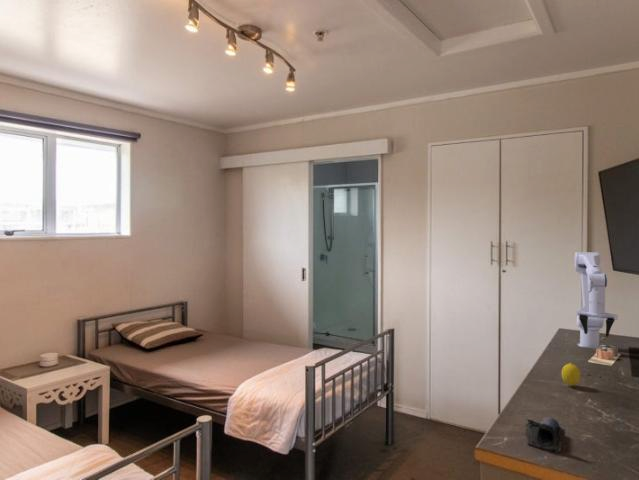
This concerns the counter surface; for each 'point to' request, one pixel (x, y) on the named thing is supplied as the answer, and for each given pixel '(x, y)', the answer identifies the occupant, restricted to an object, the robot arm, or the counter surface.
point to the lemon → (570, 374)
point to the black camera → (538, 434)
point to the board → (603, 361)
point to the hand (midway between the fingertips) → (596, 334)
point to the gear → (604, 354)
